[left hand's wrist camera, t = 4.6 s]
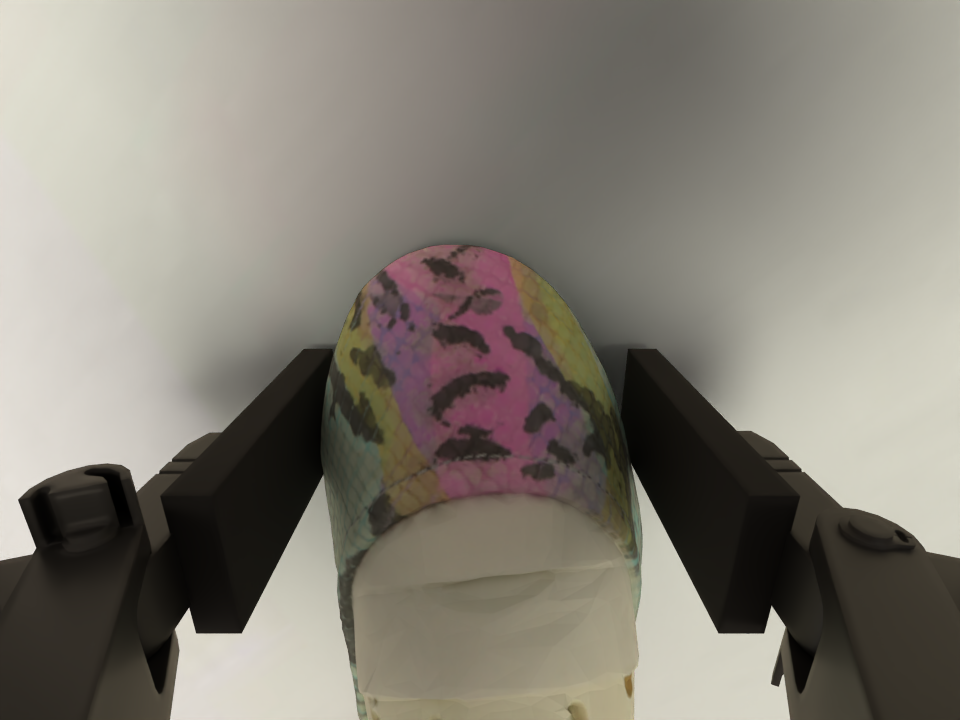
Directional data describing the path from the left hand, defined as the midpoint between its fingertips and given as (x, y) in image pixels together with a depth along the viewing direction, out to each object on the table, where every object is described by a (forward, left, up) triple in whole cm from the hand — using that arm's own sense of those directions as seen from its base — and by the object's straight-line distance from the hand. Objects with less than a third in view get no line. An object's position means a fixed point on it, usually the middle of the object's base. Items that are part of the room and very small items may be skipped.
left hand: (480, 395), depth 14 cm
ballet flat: (+8, +2, -1) cm, 8 cm away
